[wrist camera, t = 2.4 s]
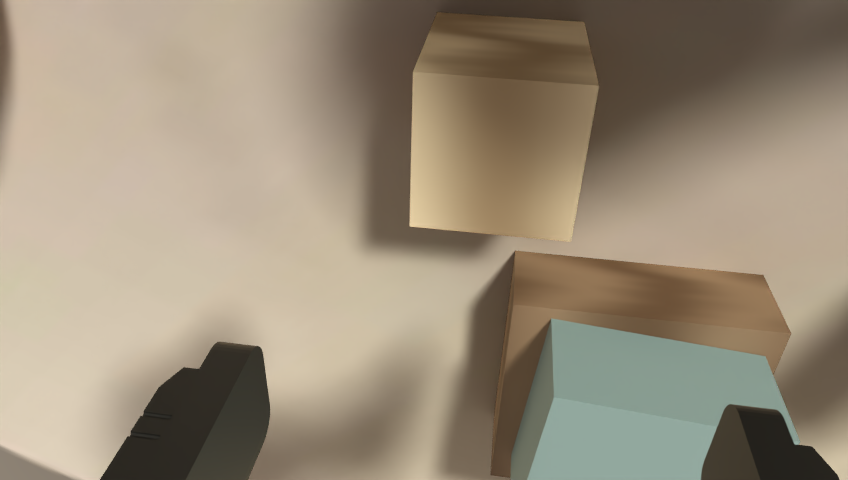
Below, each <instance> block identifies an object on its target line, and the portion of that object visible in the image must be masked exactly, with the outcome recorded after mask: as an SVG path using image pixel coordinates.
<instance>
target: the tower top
mask: <svg viewBox="0 0 848 480" xmlns="http://www.w3.org/2000/svg"><path fill="white" fill-rule="evenodd" d="M729 404H734V405H742V406H751V407H759V408H767V409H776V410H778V411H779V412H780V413H781V414H782V415H783V417H784V419H785V422H786V424H787V427H788V429H789V432H790V434H791V437H792V439H793V442H794V444H795V445H799V443H800V440H799V437H798V435H797V433H796V430H795V428H794V425H793V423H792V420H791V418H790V415H789V413H788V410H787V408H786V406H785V403H784V401H783V398H782V396H781V393H780V391H779V388H778V386H777V383H776V381H775V379H774V376H773V374H772V371H771V369H770V366H769V364H768V361H767V359H766V356H761V355H755V354H750V353H744V352H739V351H733V350H727V349H722V348H716V347H710V346H705V345H699V344H693V343H688V342H682V341H676V340H671V339H665V338H659V337H654V336H648V335H642V334H637V333H631V332H625V331H620V330H614V329H608V328H603V327H597V326H591V325H586V324H580V323H574V322H569V321H563V320H557V319H552V318H551V321H550V325H549V328H548V331H547V335H546V338H545V342H544V345H543V348H542V352H541V355H540V359H539V362H538V365H537V369H536V372H535V376H534V379H533V382H532V386H531V389H530V393H529V396H528V399H527V403H526V406H525V410H524V413H523V416H522V420H521V423H520V427H519V430H518V434H517V437H516V440H515V444H514V447H513V451H512V454H511V478H510V480H701V473H702V467H703V463H704V460H705V457H706V455H707V452H708V450H709V447H710V444H711V442H712V439H713V437H714V434H715V432H716V429H717V426H718V424H719V421H720V419H721V416H722V414H723V411H724V409H725V408H726V406H727V405H729Z"/></svg>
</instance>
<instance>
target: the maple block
mask: <svg viewBox="0 0 848 480" xmlns="http://www.w3.org/2000/svg"><path fill="white" fill-rule="evenodd" d="M598 90H599V83H598V79H597V74H596V70H595V66H594V62H593V57H592V53H591V49H590V45H589V40H588V36H587V32H586V28H585V23H584V22H577V21H562V20H547V19H532V18H518V17H503V16H488V15H473V14H458V13H443V12H437V14H436V16H435V19H434V21H433V24H432V26H431V29H430V31H429V33H428V36H427V38H426V41H425V43H424V46H423V48H422V51H421V53H420V56H419V58H418V61H417V63H416V65H415V68H414V70H413V89H412V135H411V180H410V227H420V228H431V229H441V230H452V231H462V232H473V233H484V234H494V235H505V236H515V237H526V238H536V239H547V240H557V241H568V242H571V239H572V233H573V228H574V222H575V217H576V211H577V206H578V200H579V195H580V189H581V184H582V178H583V172H584V167H585V161H586V156H587V150H588V145H589V139H590V134H591V128H592V123H593V117H594V112H595V106H596V101H597V95H598Z"/></svg>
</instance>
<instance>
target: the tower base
mask: <svg viewBox="0 0 848 480" xmlns="http://www.w3.org/2000/svg"><path fill="white" fill-rule="evenodd" d="M551 318H552V319H557V320H563V321H569V322H574V323H580V324H586V325H591V326H597V327H603V328H608V329H614V330H620V331H625V332H631V333H637V334H642V335H648V336H654V337H659V338H665V339H671V340H676V341H682V342H688V343H693V344H699V345H705V346H710V347H716V348H722V349H727V350H733V351H739V352H744V353H750V354H755V355H761V356H766V359H767V361H768V364H769V366H770V369H771V371H772V374H774V372H775V369H776V367H777V365H778V363H779V360H780V358H781V356H782V354H783V351H784V349H785V347H786V344H787V342H788V340H789V338H790V335H791V332H790V330H789V328H788V326H787V324H786V322H785V320H784V317H783V315H782V313H781V311H780V309H779V307H778V305H777V303H776V301H775V299H774V297H773V295H772V292H771V290H770V288H769V286H768V284H767V282H766V280H765V278H764V276H763V275H756V274H746V273H736V272H726V271H716V270H705V269H695V268H685V267H675V266H665V265H654V264H644V263H634V262H624V261H614V260H603V259H593V258H583V257H573V256H563V255H552V254H542V253H532V252H522V251H515V256H514V264H513V272H512V279H511V287H510V295H509V303H508V310H507V318H506V326H505V334H504V342H503V349H502V357H501V365H500V373H499V381H498V388H497V396H496V404H495V412H494V425H493V443H492V461H491V475H494V476H502V477H510V478H511V454H512V451H513V447H514V444H515V440H516V437H517V434H518V430H519V427H520V423H521V420H522V416H523V413H524V410H525V406H526V403H527V399H528V396H529V393H530V389H531V386H532V382H533V379H534V376H535V372H536V369H537V365H538V362H539V359H540V355H541V352H542V348H543V345H544V342H545V338H546V335H547V331H548V328H549V325H550V321H551Z"/></svg>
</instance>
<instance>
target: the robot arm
mask: <svg viewBox="0 0 848 480" xmlns="http://www.w3.org/2000/svg"><path fill="white" fill-rule="evenodd" d="M269 418H270V403H269V395H268V388H267V380H266V373H265V366H264V358H263V352H262V349H261V348H260V347H259V346H251V345H242V344H234V343H226V342H217V343H216V344H215V345H214V346H213V347H212V349H211V350H210V352H209V354H208V355H207V357H206V359H205V360H204V362H203V364H202V365H201V367H200V369H193V368H185V367H184V368H182V369H181V370H180V371H179V372H177V373H176V374H175V375H174V376H172V377H171V378H170V379H169V380H167V381H166V382H165V383H164V384H162V385H161V386H160V387H159V388H158V390H157V391H156V393H155V394H154V396H153V398H152V399H151V401H150V402H149V404H148V405H147V407H146V409H145V410H144V414H143V416H140V418H139V419H138V421H137V423H136V424H135V426H134V427H133V429H132V430H131V435H130V437H129V436H128V437H127V438H126V440H125V441H124V443H123V445H122V446H121V448H120V449H119V451H118V452H117V454H116V456H115V457H114V459H113V460H112V462H111V463H110V465H109V466H108V468H107V470H106V471H105V473H104V474H103V476H102V477H101V479H100V480H248V478H249V476H250V473H251V471H252V469H253V466H254V464H255V461H256V459H257V457H258V454H259V452H260V450H261V447H262V445H263V442H264V440H265V437H266V434H267V430H268V425H269ZM701 480H839V477H838V475H837V474H836V473H835V472H834V471H833V470H832V468H831V467H830V466H829V465H828V464H827V463H826V462H825V461H824V459H823V458H822V457H821V456H820V455H819V454H818V453H817V452H816V451H815V449H814V448H813V447H811V446H803V445H795V444H794V442H793V439H792V437H791V434H790V432H789V429H788V427H787V424H786V422H785V419H784V417H783V415H782V414H781V413H780V412H779V411H778V410H776V409H767V408H759V407H751V406H742V405H734V404H729V405H727V406H726V408H725V409H724V411H723V414H722V416H721V419H720V421H719V424H718V426H717V429H716V432H715V434H714V437H713V439H712V442H711V444H710V447H709V450H708V452H707V455H706V457H705V460H704V463H703V467H702V473H701Z"/></svg>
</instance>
